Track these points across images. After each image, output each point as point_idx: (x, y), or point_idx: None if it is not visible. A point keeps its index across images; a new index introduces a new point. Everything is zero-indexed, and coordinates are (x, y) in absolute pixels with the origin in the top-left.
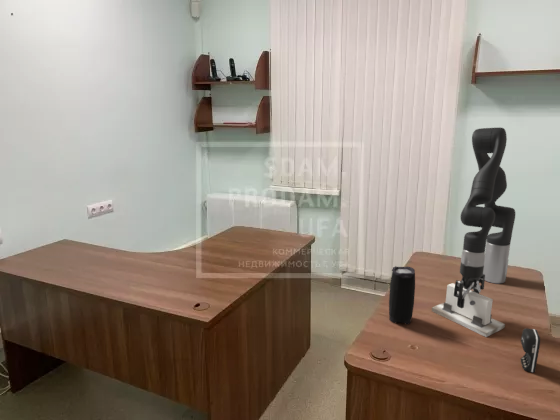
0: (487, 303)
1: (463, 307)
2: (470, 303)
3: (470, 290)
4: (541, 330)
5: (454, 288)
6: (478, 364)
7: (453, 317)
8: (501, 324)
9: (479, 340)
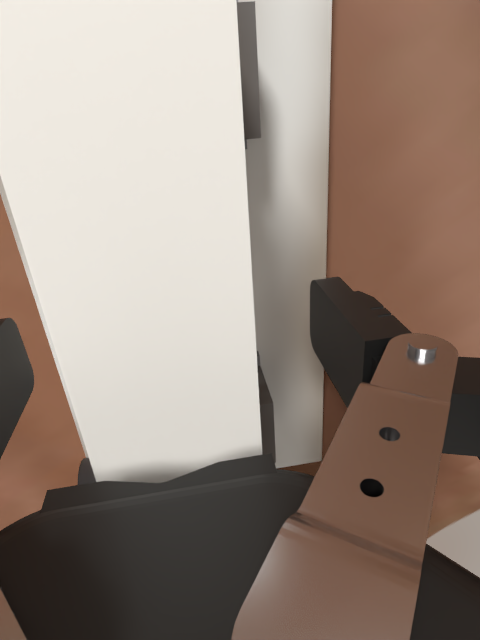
0: None
1: (30, 386)
2: (85, 470)
3: (252, 425)
4: (448, 510)
5: (8, 166)
6: None
7: (17, 239)
8: (296, 457)
9: (30, 485)
